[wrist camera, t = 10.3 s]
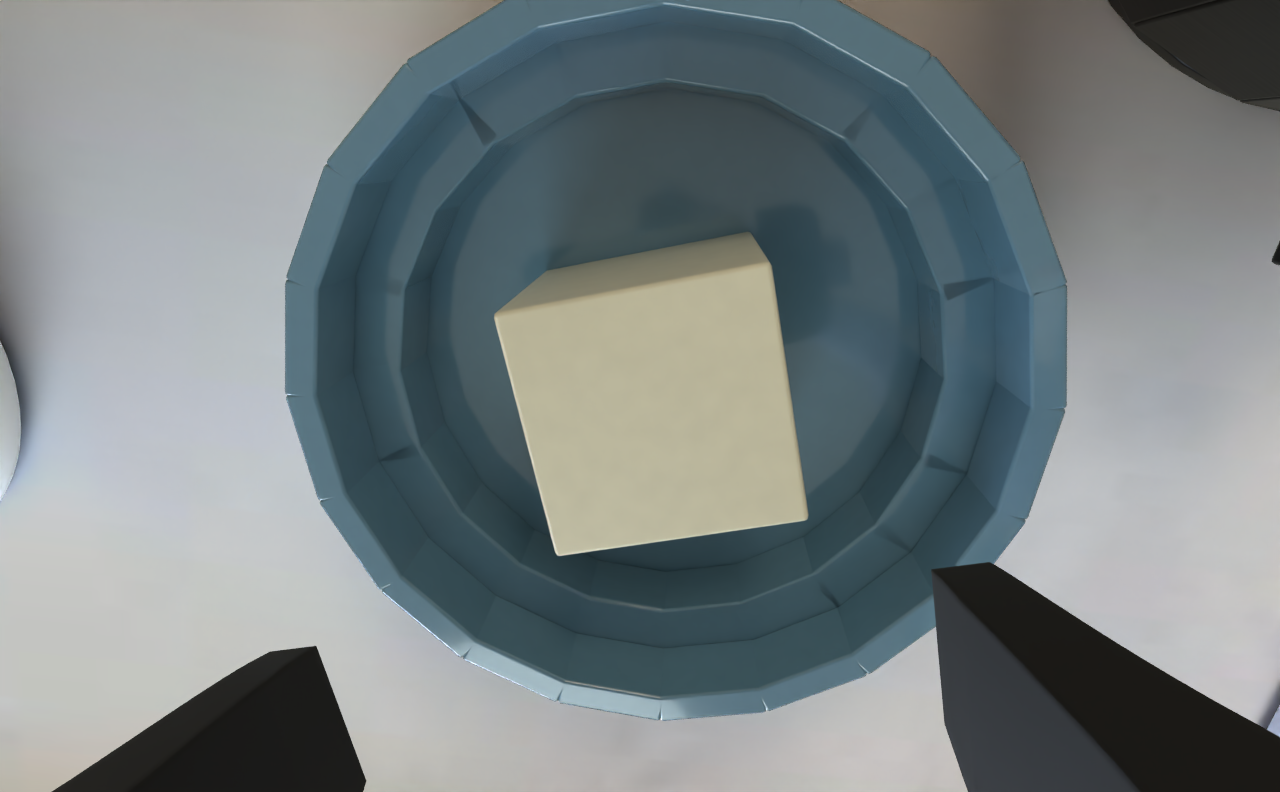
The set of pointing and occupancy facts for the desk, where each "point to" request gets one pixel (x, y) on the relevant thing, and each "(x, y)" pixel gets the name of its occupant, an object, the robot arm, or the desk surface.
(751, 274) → the tofu
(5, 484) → the white flat cylinder
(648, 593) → the dish
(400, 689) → the desk surface
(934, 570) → the robot arm
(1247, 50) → the pan
